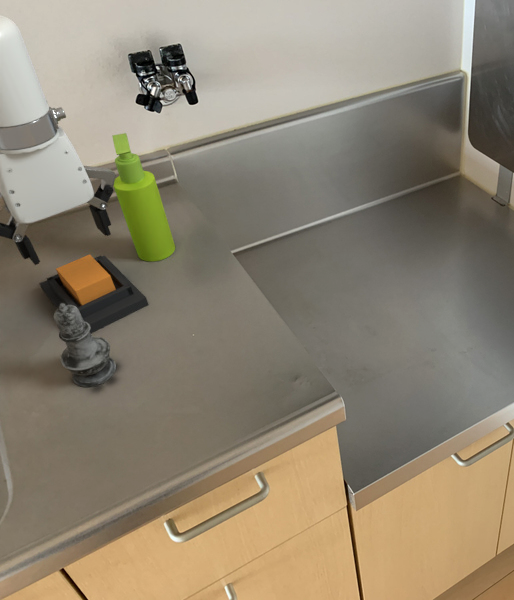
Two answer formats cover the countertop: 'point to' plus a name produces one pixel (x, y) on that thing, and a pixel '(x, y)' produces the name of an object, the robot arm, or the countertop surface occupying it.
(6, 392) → the countertop surface
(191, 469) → the countertop surface
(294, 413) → the countertop surface
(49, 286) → the black tray
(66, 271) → the orange block
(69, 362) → the grey chess piece
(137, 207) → the soap dispenser
